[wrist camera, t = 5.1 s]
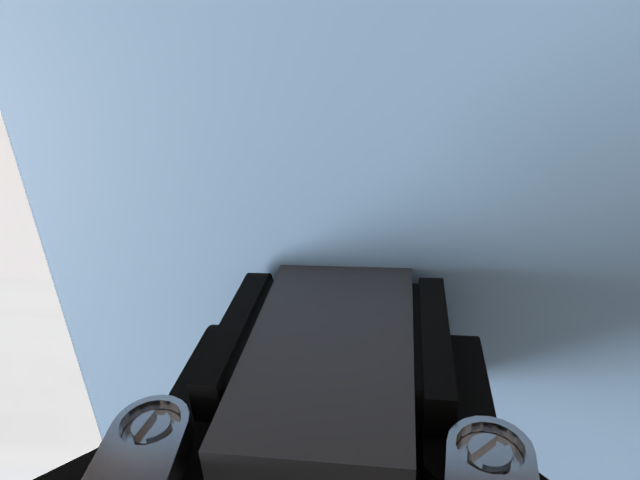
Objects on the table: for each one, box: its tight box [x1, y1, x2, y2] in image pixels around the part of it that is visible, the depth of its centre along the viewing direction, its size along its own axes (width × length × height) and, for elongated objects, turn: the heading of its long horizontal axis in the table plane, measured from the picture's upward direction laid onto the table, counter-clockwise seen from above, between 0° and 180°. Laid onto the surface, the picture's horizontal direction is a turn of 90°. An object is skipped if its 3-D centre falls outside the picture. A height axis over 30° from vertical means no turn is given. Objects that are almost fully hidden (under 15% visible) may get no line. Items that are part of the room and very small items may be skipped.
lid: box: [0, 0, 640, 480], centre depth 11 cm, size 15×15×6 cm
